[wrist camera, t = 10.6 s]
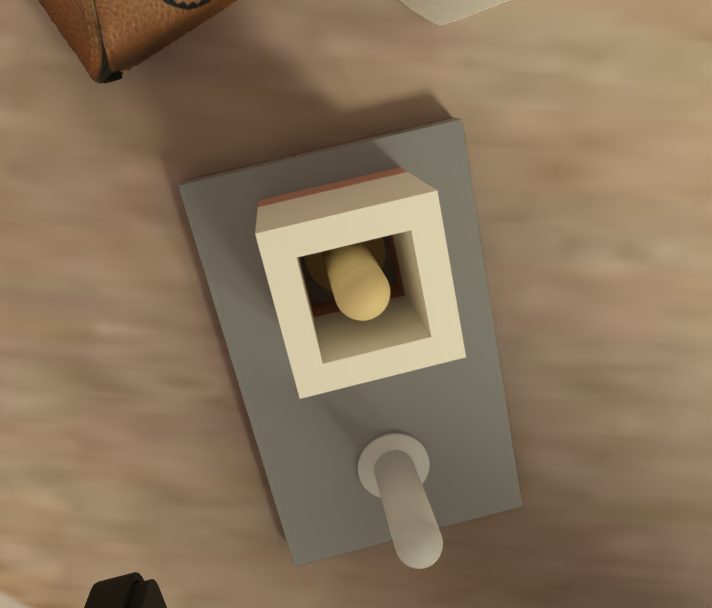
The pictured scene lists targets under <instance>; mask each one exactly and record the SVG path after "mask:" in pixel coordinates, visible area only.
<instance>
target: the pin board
mask: <svg viewBox="0 0 712 608" xmlns="http://www.w3.org/2000/svg"><path fill="white" fill-rule="evenodd" d="M399 167H401V168H403V169H404V170H406V171H407V172H409V173H411V174H412V175H414V176H415V177H417V178H418V179H420V180H422V181H423V182H425V183H426V184H428V185H429V186H431V187H433V188H434V189H436V190H437V191H438V197H439V203H440V208H441V214H442V220H443V226H444V232H445V237H446V243H447V249H448V255H449V261H450V267H451V272H452V278H453V284H454V290H455V296H456V301H457V307H458V313H459V319H460V325H461V330H462V336H463V342H464V348H465V354H466V357H465V358H461V359H457V360H453V361H449V362H445V363H441V364H437V365H433V366H429V367H425V368H421V369H417V370H413V371H409V372H405V373H401V374H397V375H393V376H389V377H385V378H381V379H377V380H373V381H369V382H365V383H361V384H357V385H353V386H349V387H345V388H341V389H337V390H333V391H329V392H325V393H321V394H317V395H313V396H309V397H305V398H301V399H300V398H299V394H298V391H297V387H296V383H295V379H294V376H293V372H292V368H291V365H290V361H289V357H288V354H287V350H286V346H285V342H284V339H283V335H282V331H281V328H280V324H279V320H278V317H277V313H276V309H275V305H274V302H273V298H272V294H271V291H270V287H269V283H268V280H267V276H266V272H265V268H264V265H263V261H262V257H261V254H260V250H259V246H258V243H257V239H256V235H255V230H256V219H257V208H258V200H262V199H267V198H271V197H275V196H279V195H284V194H288V193H292V192H296V191H301V190H305V189H309V188H313V187H318V186H322V185H326V184H330V183H335V182H339V181H343V180H348V179H352V178H356V177H360V176H365V175H369V174H373V173H377V172H382V171H386V170H390V169H394V168H399ZM178 187H179V191H180V194H181V197H182V200H183V204H184V207H185V210H186V214H187V217H188V220H189V223H190V227H191V230H192V233H193V236H194V240H195V243H196V246H197V250H198V253H199V256H200V259H201V263H202V266H203V269H204V272H205V276H206V279H207V282H208V285H209V289H210V292H211V295H212V299H213V302H214V305H215V308H216V312H217V315H218V318H219V321H220V325H221V328H222V331H223V335H224V338H225V341H226V344H227V348H228V351H229V354H230V357H231V361H232V364H233V367H234V371H235V374H236V377H237V380H238V384H239V387H240V390H241V393H242V397H243V400H244V403H245V407H246V410H247V413H248V416H249V420H250V423H251V426H252V429H253V433H254V436H255V439H256V442H257V446H258V449H259V452H260V456H261V459H262V462H263V465H264V469H265V472H266V475H267V478H268V482H269V485H270V488H271V492H272V495H273V498H274V501H275V505H276V508H277V511H278V514H279V518H280V521H281V524H282V528H283V531H284V534H285V537H286V541H287V544H288V547H289V550H290V554H291V557H292V560H293V564H294V567H296V566H300V565H303V564H307V563H311V562H315V561H318V560H322V559H326V558H330V557H334V556H337V555H341V554H345V553H349V552H352V551H356V550H360V549H364V548H368V547H371V546H375V545H379V544H383V543H386V542H390V541H393V544H394V547H395V551H396V554H397V555H398V557H399V559H400V560H401V561H402V562H403V563H404V564H406V565H407V566H409V567H412V568H415V569H423V568H427V567H429V566H431V565H433V564H434V563H435V562H436V561H437V560H438V558H439V557H440V555H441V552H442V548H443V539H442V535H441V532H440V530H439V528H443V527H447V526H451V525H454V524H458V523H462V522H466V521H470V520H473V519H477V518H481V517H485V516H488V515H492V514H496V513H500V512H504V511H507V510H511V509H515V508H519V507H522V500H521V494H520V488H519V481H518V475H517V468H516V462H515V456H514V449H513V443H512V436H511V430H510V424H509V417H508V411H507V405H506V398H505V392H504V385H503V379H502V373H501V366H500V360H499V353H498V347H497V341H496V334H495V328H494V322H493V315H492V309H491V302H490V296H489V290H488V283H487V277H486V270H485V264H484V258H483V251H482V245H481V239H480V232H479V226H478V219H477V213H476V207H475V200H474V194H473V187H472V181H471V175H470V168H469V162H468V156H467V149H466V143H465V136H464V130H463V124H462V119H458V118H450V119H446V120H442V121H437V122H433V123H429V124H424V125H420V126H416V127H412V128H407V129H403V130H399V131H395V132H390V133H386V134H382V135H378V136H373V137H369V138H365V139H361V140H356V141H352V142H348V143H344V144H339V145H335V146H331V147H327V148H322V149H318V150H314V151H310V152H305V153H301V154H297V155H292V156H288V157H284V158H280V159H275V160H271V161H267V162H263V163H258V164H254V165H250V166H246V167H241V168H237V169H233V170H229V171H224V172H220V173H216V174H212V175H207V176H203V177H199V178H195V179H190V180H186V181H182V182H181V183H180V184H179V185H178ZM300 261H301V265H302V269H303V273H304V277H305V281H306V285H307V289H308V293H309V297H310V301H311V305H315V304H319V303H323V302H327V301H331V300H335V301H336V304H337V306H338V307H339V309H340V310H341V311H342V313H344V314H345V315H346V316H348V317H349V318H351V319H354V320H360V321H365V320H370V319H373V318H375V317H377V316H378V315H380V314H381V313H382V312H383V311H384V310H385V308H386V307H387V305H388V303H389V299H390V286H393V285H397V284H398V283H397V278H396V273H395V268H394V263H393V259H392V254H391V249H390V244H389V239H388V236H385V237H380V238H376V239H372V240H368V241H364V242H360V243H355V244H351V245H347V246H343V247H339V248H335V249H330V250H326V251H322V252H318V253H314V254H309V255H305V256H301V257H300Z"/></svg>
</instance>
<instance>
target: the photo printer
mask: <svg viewBox="0 0 712 608" xmlns="http://www.w3.org/2000/svg"><path fill="white" fill-rule="evenodd" d="M399 1H400V2H402V3H403V4H404V5H406V6H407V7H408V8H410V9H411V10H412V11H414V12H415V13H417V14H418V15H420V16H422V17H423V18H425V19H427V20H429V21H431V22H433V23H435V24H437V25H439V26H443V25H445V24H448V23H451V22H454V21H457V20H460V19H462V18H465V17H467V16H470V15H473V14H476V13H478V12H481V11H483V10H486V9H488V8H491V7H494V6H496V5H499V4H501V3H504V2H507V1H509V0H399Z"/></svg>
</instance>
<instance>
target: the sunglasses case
mask: <svg viewBox="0 0 712 608" xmlns="http://www.w3.org/2000/svg"><path fill="white" fill-rule="evenodd" d="M38 1H39V2H40V3H41V5H42V6H43V7H44V9H45V10H46V12H47V13H48V15H49V16H50V18H51V20H52V21H53V22H54V23H55V25H56V26H57V28H58V30H59V31H60V32H61V34H62V36H63V37H64V38H65V39H66V41H67V42H68V44H69V46H70V47H71V48H72V50H73V51H74V52H75V53H76V54H77V56H78V58H79V59H80V61H81V62H82V64H83V65H84V67H85V68H86V70H87V72H88V73H89V75H90V77H91V78H92V79H93V80H94V81H96V82H98V83H108V82H113V81H116V80H119V79H122V73H123V72H124V71H126V70H130V68H132V67H133V66H136V65H138V64H140V63H141V62H142V61H144V60H146V59H148V58H149V57H150V56H152V55H153V54H155V53H157V52H158V51H160V50H162V49H163V48H164V47H165V46H167V45H169V44H170V43H171V42H173V41H175V40H177V39H178V38H180V37H181V36H182V35H184V34H185V33H186V32H188V31H191V30H192V29H193V28H195V27H196V26H198V25H199V24H200V23H203V22H204V21H206V20H207V19H209V18H211V17H212V16H214V15H215V14H216V13H218V12H220V11H221V10H223V9H224V8H226V7H227V6H229V5H230V4H232V3H233V2H235V1H236V0H38Z"/></svg>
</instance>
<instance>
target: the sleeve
mask: <svg viewBox="0 0 712 608" xmlns="http://www.w3.org/2000/svg"><path fill="white" fill-rule="evenodd" d="M255 235H256V239H257V243H258V246H259V250H260V254H261V257H262V261H263V265H264V268H265V272H266V276H267V280H268V283H269V287H270V291H271V294H272V298H273V302H274V305H275V309H276V313H277V317H278V320H279V324H280V328H281V331H282V335H283V339H284V342H285V346H286V350H287V354H288V357H289V361H290V365H291V368H292V372H293V376H294V379H295V383H296V387H297V391H298V394H299V398H300V399H301V398H305V397H309V396H313V395H317V394H321V393H325V392H329V391H333V390H337V389H341V388H345V387H349V386H353V385H357V384H361V383H365V382H369V381H373V380H377V379H381V378H385V377H389V376H393V375H397V374H401V373H405V372H409V371H413V370H417V369H421V368H425V367H429V366H433V365H437V364H441V363H445V362H449V361H453V360H457V359H461V358H465V357H466V354H465V348H464V342H463V336H462V330H461V325H460V319H459V313H458V307H457V301H456V296H455V290H454V284H453V278H452V272H451V267H450V261H449V255H448V249H447V243H446V237H445V232H444V226H443V220H442V214H441V208H440V203H439V197H438V191H437V190H436V189H434V188H433V187H431V186H429V185H428V184H426V183H425V182H423V181H422V180H420V179H418V178H417V177H415V176H414V175H412V174H411V173H409V172H407V171H406V170H404V169H403V168H401V167H399V168H394V169H390V170H386V171H382V172H377V173H373V174H369V175H365V176H360V177H356V178H352V179H348V180H343V181H339V182H335V183H330V184H326V185H322V186H318V187H313V188H309V189H305V190H301V191H296V192H292V193H288V194H284V195H279V196H275V197H271V198H267V199H262V200H258V208H257V219H256V230H255ZM385 236H388V239H389V244H390V249H391V254H392V259H393V263H394V268H395V273H396V278H397V283H398V284H397V285H393V286H390V299H389V303H388V305H387V307H386V308H385V310H384V311H383V312H382V313H381V314H380V315H378V316H377V317H375V318H373V319H370V320H365V321H360V320H354V319H351V318H349V317H348V316H346V315H345V314H344V313H342V311H341V310H340V309H339V307H338V306H337V304H336V301H335V300H331V301H327V302H323V303H319V304H315V305H311V301H310V297H309V293H308V289H307V285H306V281H305V277H304V273H303V269H302V265H301V261H300V257H301V256H305V255H309V254H314V253H318V252H322V251H326V250H330V249H335V248H339V247H343V246H347V245H351V244H355V243H360V242H364V241H368V240H372V239H376V238H380V237H385Z"/></svg>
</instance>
